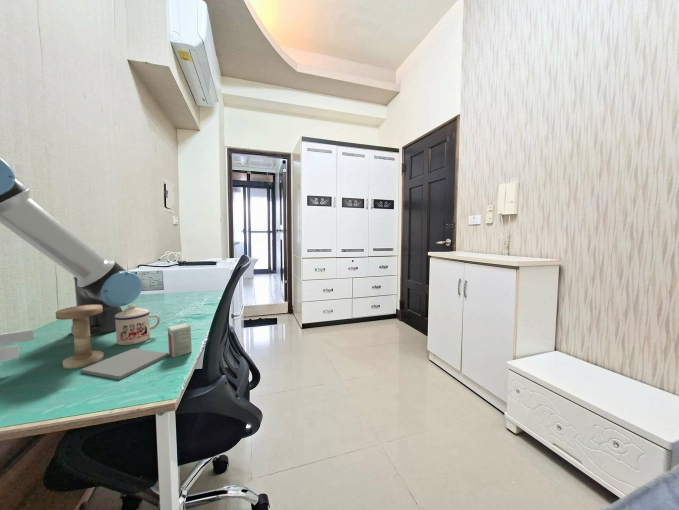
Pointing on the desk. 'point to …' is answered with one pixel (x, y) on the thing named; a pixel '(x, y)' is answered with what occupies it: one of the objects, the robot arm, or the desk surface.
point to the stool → (81, 335)
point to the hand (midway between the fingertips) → (26, 342)
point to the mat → (124, 363)
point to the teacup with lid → (133, 325)
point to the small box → (179, 339)
